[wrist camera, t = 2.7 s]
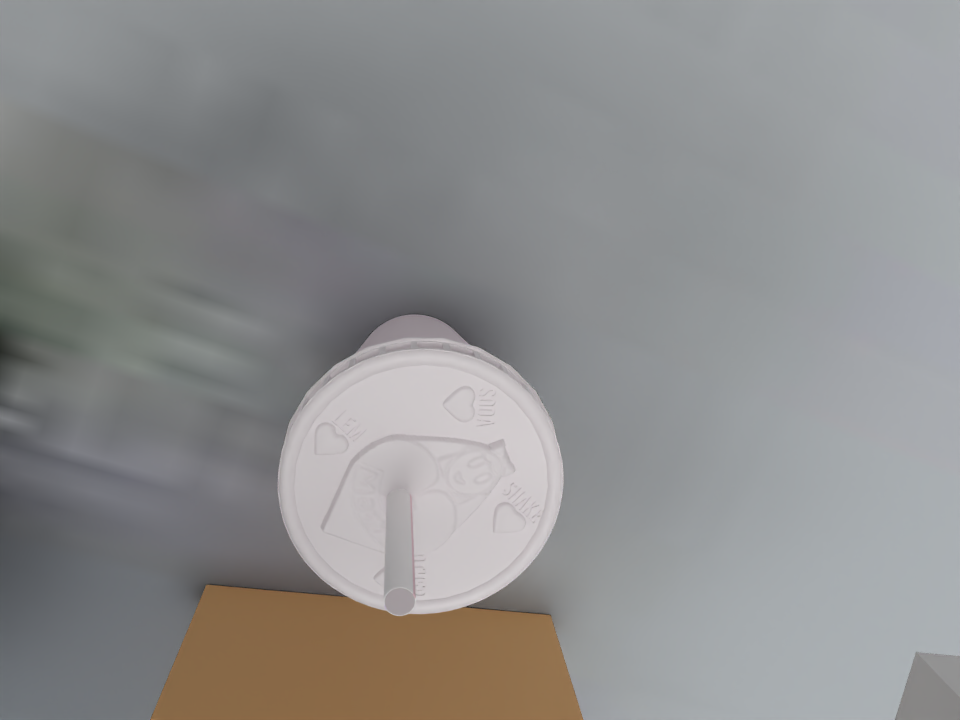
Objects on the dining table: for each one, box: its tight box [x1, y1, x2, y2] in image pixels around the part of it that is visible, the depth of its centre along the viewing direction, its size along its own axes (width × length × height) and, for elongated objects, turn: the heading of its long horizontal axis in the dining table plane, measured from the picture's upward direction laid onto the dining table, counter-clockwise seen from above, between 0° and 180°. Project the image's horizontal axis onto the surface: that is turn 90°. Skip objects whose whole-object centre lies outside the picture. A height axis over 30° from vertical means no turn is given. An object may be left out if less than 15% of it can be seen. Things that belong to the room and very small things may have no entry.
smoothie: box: [278, 314, 563, 616], centre depth 22 cm, size 6×6×14 cm
